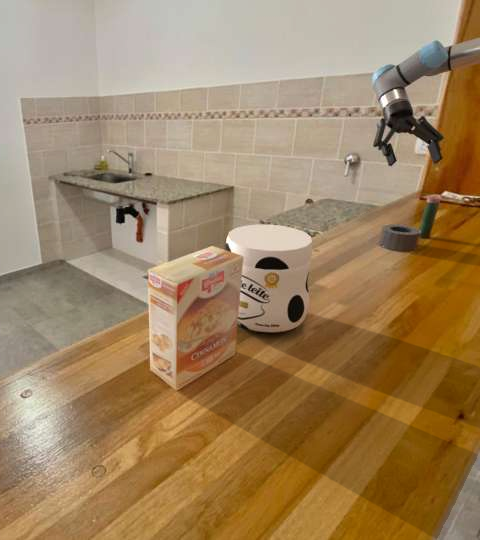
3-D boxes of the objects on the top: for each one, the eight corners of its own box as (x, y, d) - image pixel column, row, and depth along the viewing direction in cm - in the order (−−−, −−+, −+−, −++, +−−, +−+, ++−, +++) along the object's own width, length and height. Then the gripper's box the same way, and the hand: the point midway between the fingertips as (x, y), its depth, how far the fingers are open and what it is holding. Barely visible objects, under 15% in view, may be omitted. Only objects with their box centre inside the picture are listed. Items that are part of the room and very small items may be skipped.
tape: (414, 242, 111) (419, 226, 109) (417, 253, 104) (422, 236, 102) (378, 238, 116) (381, 223, 114) (378, 248, 109) (382, 232, 107)
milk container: (213, 335, 75) (217, 250, 68) (221, 294, 90) (225, 221, 82) (310, 347, 69) (326, 256, 62) (301, 302, 84) (313, 224, 77)
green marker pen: (428, 235, 116) (440, 196, 111) (429, 239, 113) (441, 199, 108) (416, 234, 117) (427, 196, 112) (417, 237, 115) (428, 198, 110)
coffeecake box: (177, 392, 61) (177, 283, 53) (148, 370, 66) (145, 268, 58) (237, 354, 69) (245, 255, 61) (207, 337, 74) (211, 244, 66)
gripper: (427, 114, 127) (448, 167, 120) (351, 118, 128) (367, 171, 121) (443, 96, 120) (467, 152, 113) (363, 101, 121) (381, 156, 114)
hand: (415, 162), depth 117 cm, fingers open, 13 cm apart
